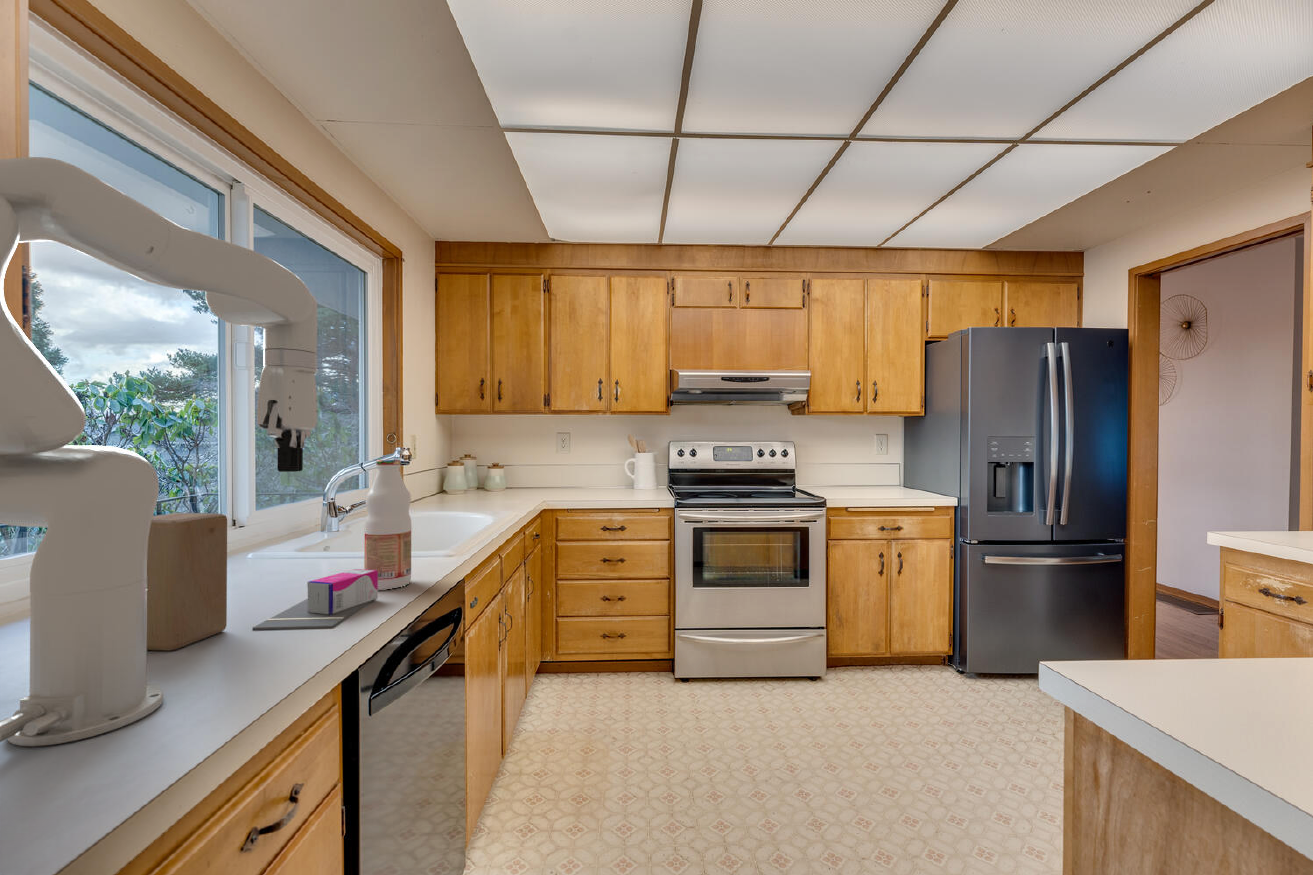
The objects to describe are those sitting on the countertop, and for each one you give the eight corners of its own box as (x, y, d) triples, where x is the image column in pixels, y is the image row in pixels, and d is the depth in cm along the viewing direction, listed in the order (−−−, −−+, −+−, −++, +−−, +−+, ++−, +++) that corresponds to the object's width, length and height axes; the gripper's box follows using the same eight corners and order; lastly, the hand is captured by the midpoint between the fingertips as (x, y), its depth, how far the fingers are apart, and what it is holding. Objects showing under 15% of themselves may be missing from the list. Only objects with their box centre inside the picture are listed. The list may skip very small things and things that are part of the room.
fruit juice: (374, 593, 116) (375, 460, 116) (357, 585, 122) (357, 459, 123) (418, 585, 123) (419, 459, 123) (400, 578, 130) (400, 458, 130)
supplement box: (305, 612, 102) (356, 596, 113) (330, 615, 100) (379, 598, 111) (305, 580, 102) (357, 568, 113) (330, 583, 101) (379, 570, 111)
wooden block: (229, 630, 94) (230, 512, 94) (172, 653, 84) (173, 521, 84) (176, 628, 95) (176, 511, 95) (113, 650, 85) (114, 520, 85)
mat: (332, 627, 95) (332, 624, 95) (252, 629, 94) (252, 626, 94) (376, 598, 113) (376, 595, 113) (309, 599, 112) (309, 597, 112)
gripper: (292, 368, 101) (292, 469, 101) (237, 356, 86) (237, 474, 86) (335, 369, 102) (335, 469, 101) (288, 357, 87) (287, 474, 87)
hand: (290, 471), depth 94 cm, fingers closed
